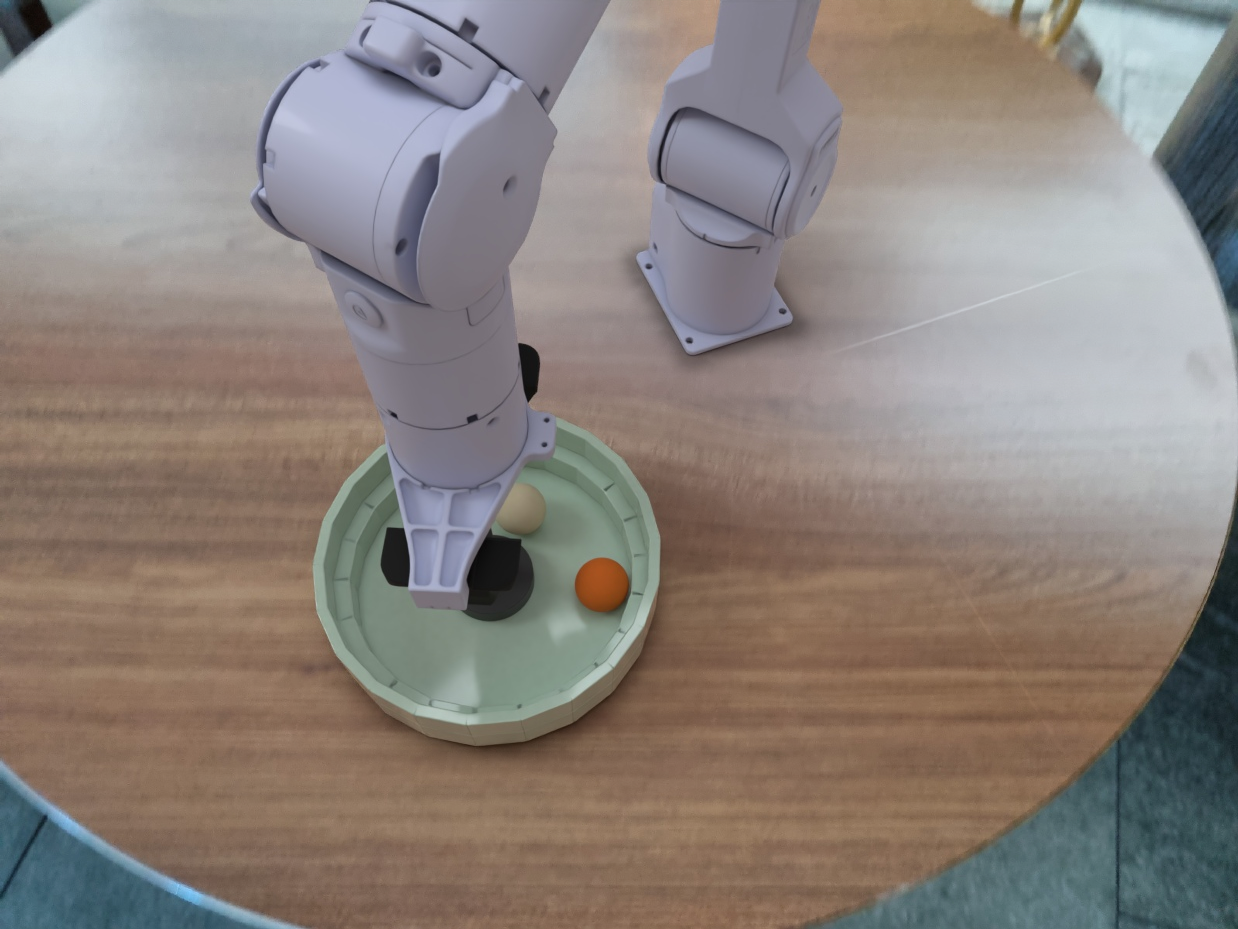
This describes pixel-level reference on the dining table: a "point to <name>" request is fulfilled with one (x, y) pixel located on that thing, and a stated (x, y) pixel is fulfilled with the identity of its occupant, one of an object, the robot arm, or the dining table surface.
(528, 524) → the beige ball
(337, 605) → the bowl
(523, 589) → the black peg stand
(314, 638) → the dining table surface
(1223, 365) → the dining table surface
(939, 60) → the dining table surface
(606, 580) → the orange ball
